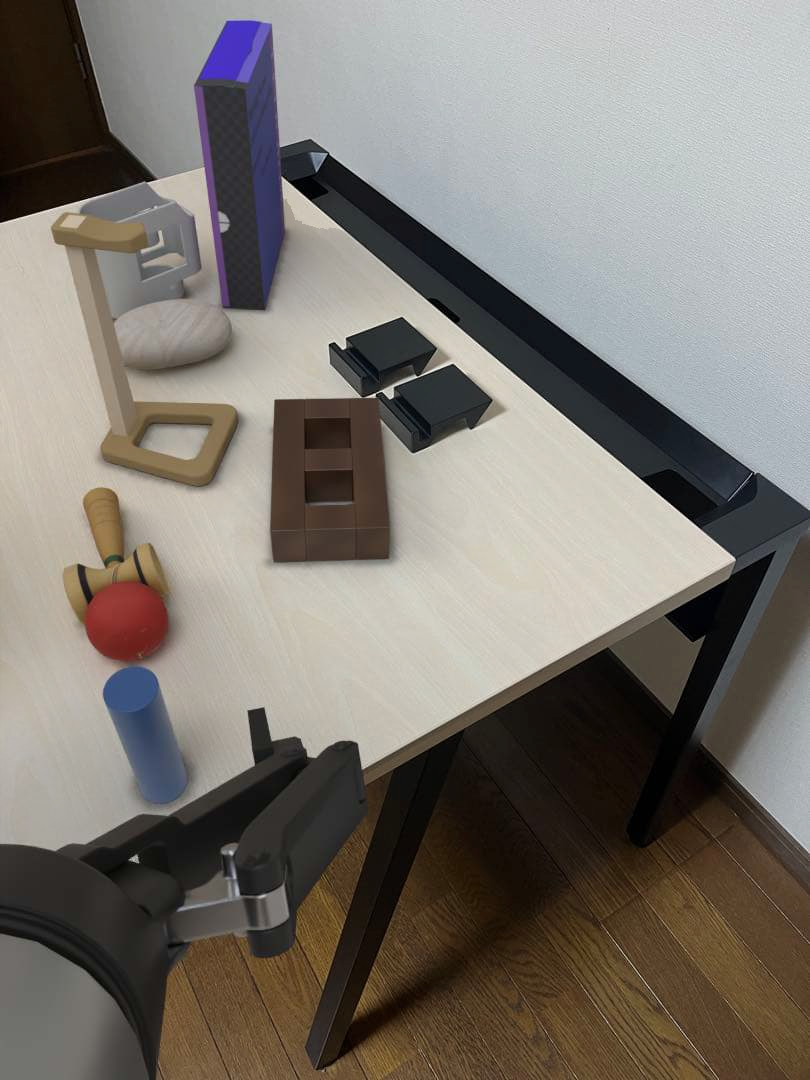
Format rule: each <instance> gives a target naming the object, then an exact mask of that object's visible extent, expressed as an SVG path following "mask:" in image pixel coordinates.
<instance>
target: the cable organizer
mask: <svg viewBox="0 0 810 1080" xmlns="http://www.w3.org/2000/svg"><path fill="white" fill-rule="evenodd" d="M76 213H78V214H86V215H91V216H94V217H96V218H99V219H102V220H106V221H111V222H117V223H136V222H141V223H143V225H144V228H145V231H146V236H147V242H148V246H147V247H145V248H143V249H141V250H139V251H137V252H135V253H132V254H130V253H122V252H114V251H106V250H98V249H95V253H96V257H97V261H98V265H99V269H100V273H101V276H102V280H103V284H104V288H105V292H106V296H107V300H108V304H109V308H110V311H111V315H112V319H114V320H115V321H116V320H117V319H118V318H119V317H121V316H122V315H123V314H125V313H127V312H129V311H131V310H133V309H135V308H138V307H140V306H143V305H147V304H151V303H155V302H159V301H165V300H173V299H181V298H182V297H183V295H184V293H185V282H184V280H185V279H187V278H190V277H192V276H195V275H197V274H198V273H200V272H201V270H202V268H203V267H202V260H201V253H200V246H199V238H198V232H197V224H196V219H195V218H196V217H195V214H194V213H193V212H192V211H190V210H188V209H187V208H185V207H184V206H182V205H181V204H180V203H178V202H177V201H175V200H173V198H167V197H164V196H160V195H159V194H158V193H157V192H156V191H155V190H154V189H153V187H151V186H150V184H148V183H147V181H142V182H140V183H139V182H138V183H136V184H133V185H130V186H128V187H124V188H122V189H119V190H116V191H113V192H110V193H107V194H104V195H101V196H98V197H96V198H92V199H89V200H88V201H85V202H83V203H82V204H81V205H79V207H78V208H77V210H76ZM160 231H161V235H162V241H163V244H162V245H161V246H158V247H155V246H157V245H158V244H159V243H160V242H161V241H160V234H159V232H160ZM152 247H155V248H152ZM149 248H152V249H150V250H147V251H145V252H142V250H145V249H149ZM169 254H177V255H180V256H181V257H182V258H183V259H184V263H183V264H180V265H178V266H176V267H175V266H173V265H169V264H161V263H154V264H148V265H145V266H143V265H144V264H146V263H148V262H151V261H153V260H156V259H159V258H161V257H164V256H166V255H169Z"/></svg>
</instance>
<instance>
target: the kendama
mask: <svg viewBox="0 0 810 1080" xmlns="http://www.w3.org/2000/svg"><path fill="white" fill-rule="evenodd" d="M82 506H83V510H84V512H85V514H86V517H87V521H88V524H89V527H90V530H91V534H92V537H93V540H94V543H95V544H94V545H95V546H96V549H97V552H98V554H99V556H100V559H101V561H102V563H103V565H104V568H92V567H90V566H89V567H88V566H85V565H83V564H81V563H79V562H77V563H74V564H72V565H69V566H67V567H64V568H63V569H62V581H63V586H64V590H65V593H66V597H67V599H68V601H69V604H70V607H71V608H72V611H73V613H74V615H75V616H76V617H77V619H78V621H79V622H80V623H81V624H83V625H84V629H85V633H86V636H87V638H88V640H89V642H90V644H91V645H92V646H93V648H94V649H95V650H96V651H97V652H98V653H100V654H101V655H103V657H106V658H107V659H109V660H113V661H117V662H132V661H133V662H134V661H138V660H144V659H145V657H147V656H149V655H151V654H152V653H154V652H155V651H156V650H157V649H158V648H159V647H160V646H161V645H162V643H163V641H165V639H166V635H167V634H168V630H169V629H168V628H169V621H170V620H169V611H168V607H167V605H166V603H165V601H164V599H163V597H164V596H166V595H168V594H169V585H168V581H167V578H166V575H165V572H164V569H163V567H162V564H161V561H160V558H159V557H158V554H157V552H156V550H155V548H154V546H153V545H152V544H151V543H150V542H145V543H142V544H138V545H137V546H135V549H134V550H133V552H132V553H131V555H130V556H129V557H128V558H127V559H125V545H124V534H123V527H122V519H121V512H120V500H119V496H118V494H117V493H116V492H115V491H114V490H112V489H111V488H108V487H103V486H99V487H95V488H92V489H90V490H89V491H88V492H87V493H86V494H84V497H83V499H82Z"/></svg>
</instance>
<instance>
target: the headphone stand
mask: <svg viewBox="0 0 810 1080" xmlns="http://www.w3.org/2000/svg"><path fill="white" fill-rule="evenodd" d="M50 230H51V235H52V238H53V242H54V244H56V245H58V246H64V248H65V253H66V256H67V261H68V264H69V269H70V272H71V276H72V280H73V284H74V287H75V291H76V295H77V299H78V304H79V307H80V312H81V314H82V320H83V322H84V326H85V330H86V334H87V338H88V342H89V346H90V350H91V354H92V357H93V362H94V366H95V370H96V374H97V378H98V381H99V384H100V389H101V392H102V393H101V394H102V398H103V400H104V404H105V408H106V413H107V416H108V420H109V425H110V429H109V430H108V432H107V433H106V435H105V437H104V438H103V440H102V441H101V443H100V447H99V448H100V452H101V455H102V459H103V460H104V461H106V462H108V463H111V464H114V465H118V466H122V467H125V468H129V469H131V470H136V471H139V472H143V473H147V474H150V475H154V476H158V477H161V478H164V479H168V480H171V481H176V482H179V483H183V484H186V485H190V486H194V487H202V486H205V485H208V484H209V483H210V482H212V481H213V478H214V477H215V474H216V472H217V470H218V468H219V466H220V464H221V461H222V459H223V456H224V454H225V452H226V450H227V447H228V446H229V443H230V441H231V438H232V436H233V434H234V432H235V430H236V427H237V425H238V423H239V416H238V411H237V409H236V408H235V406H233V405H231V404H228V403H205V402H175V401H174V402H170V401H141V400H139V401H137V400H135V401H134V397H133V393H132V390H131V385H130V382H129V377H128V375H127V370H126V366H124V362H123V358H122V354H121V350H120V346H119V343H118V339H117V335H116V331H115V327H114V320H113V319H114V318H112V315H111V311H110V308H109V304H108V300H107V296H106V292H105V288H104V284H103V280H102V276H101V273H100V269H99V265H98V261H97V257H96V253H95V249H98V250H106V251H114V252H122V253H130V254H132V253H135V252H137V251H139V250H141V249H142V250H144V249H143V248H145V247H147V246H148V242H147V236H146V231H145V228H144V225H143V223H141V222H136V223H117V222H111V221H106V220H102V219H99V218H96V217H94V216H91V215H86V214H78V213H77V212H76V213H75V212H67V211H66V212H62V213H61V214H60V216H59V217H58V218H57V219H56V220H55V221H54V222H53V224H52V225H51V226H50ZM142 250H141V251H142ZM152 424H185V425H186V424H187V425H189V424H190V425H191V424H192V425H209V426H210V425H211V427H210V429H209V431H208V434H207V435H206V438H205V440H204V442H203V444H202V447H201V449H200V450H199V452H198V454H197V456H195V457H194V458H191V459H184V458H179V457H175V456H172V455H168V454H165V453H161V452H158V451H154V450H151V449H147V448H143V447H139V446H138V445H139V444H140V442H141V440H142V438H143V437H144V434H145V432H146V431H147V429H148V428H149V426H150V425H152Z"/></svg>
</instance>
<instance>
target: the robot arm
mask: <svg viewBox="0 0 810 1080" xmlns="http://www.w3.org/2000/svg"><path fill="white" fill-rule="evenodd" d="M246 712H247V719H248V727H249V736H250V743H251V751H252V757H253V764H254V765H253V766H251V767H249V768H248V769H245V770H244V771H242V772H241V773H239V774H237V775H235V776H234V777H232V778H230V779H228V780H227V781H225V782H224V783H222V784H220V785H219V786H217V787H215V788H213V789H211V790H209V791H208V792H206V793H204V794H202V795H201V796H199V797H197V798H196V799H193V800H192V801H191V802H189V803H187V804H186V805H184V806H182V807H180V808H179V809H177V810H175V811H173V812H172V813H170V814H169V815H165V814H164V815H163V814H151V813H141V814H137V815H136V816H133V817H132V818H130V819H128V820H127V821H125V822H123V823H121V824H119V825H117V826H116V827H114V828H112V829H110V830H108V831H107V832H104V833H103V834H101V835H100V836H98V837H96V838H94V839H93V840H90V841H89V842H87V843H85V844H84V843H75V842H74V843H69V844H68V843H67V844H66V845H64V846H62V847H60V848H58V849H56V850H52V849H49V848H44V847H39V846H35V845H28V844H15V843H0V1080H157V1078H158V1077H157V1075H158V1068H159V1057H160V1050H161V1041H162V1033H163V1024H164V1014H165V1007H166V997H167V987H168V985H167V984H168V977H169V976H170V973H171V972H172V971H173V970H174V969H175V968H176V967H177V965H179V963H180V962H181V961H182V960H183V959H184V957H186V955H187V953H188V952H189V949H190V947H191V943H192V942H195V941H200V940H204V939H210V938H214V937H220V936H225V935H230V934H233V935H234V936H235V937H237V938H245V937H246V938H247V946H248V951H249V955H250V956H252V957H254V958H256V959H273V958H274V957H275V958H276V957H278V956H281V955H283V954H285V953H287V952H288V951H290V950H291V949H292V947H294V945H295V942H296V934H297V918H298V917H297V915H298V910H299V909H300V907H301V906H302V905H303V904H304V902H305V900H306V898H307V897H308V896H309V895H310V893H311V892H312V890H313V889H314V888H315V886H316V885H317V883H318V882H319V881H320V879H321V877H322V876H323V875H324V873H325V872H326V871H327V869H328V868H329V867H330V865H331V864H332V862H333V861H334V860H335V858H336V857H337V855H338V854H339V852H340V851H341V850H342V848H343V847H344V845H345V844H346V843H347V841H348V840H349V838H350V837H351V836H352V835H353V833H354V831H355V830H356V829H357V827H358V825H360V823H361V821H362V820H363V819H364V817H365V816H366V814H368V811H369V804H368V798H367V797H368V796H367V791H366V785H365V779H364V778H365V777H364V772H363V767H362V760H361V759H362V758H361V753H360V747H359V743H358V742H356V741H354V740H338V741H336V742H334V743H333V744H330V745H328V746H326V747H325V748H324V749H323V750H322V751H321V752H320V753H319V754H318V755H317V756H316V757H311V756H308V749H307V748H306V747H304V744H303V741H302V738H301V737H298V736H296V735H295V736H290V737H286V738H285V737H284V738H281V739H275V740H272V736H271V732H270V727H269V722H268V717H267V713H266V708H265V706H263V707H257V708H253V709H248V710H246ZM135 856H137V860H138V862H136V861H133V860H131V859H133V858H134V857H135Z"/></svg>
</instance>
